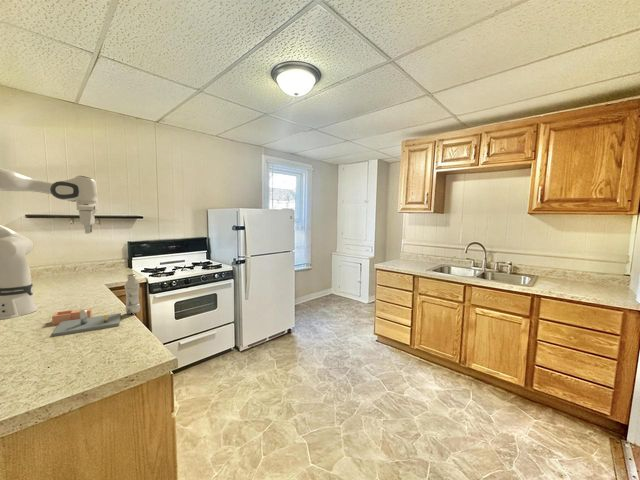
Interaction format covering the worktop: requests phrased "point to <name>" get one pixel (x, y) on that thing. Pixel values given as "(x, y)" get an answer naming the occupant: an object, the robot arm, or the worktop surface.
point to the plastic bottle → (132, 294)
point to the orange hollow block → (68, 315)
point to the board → (92, 324)
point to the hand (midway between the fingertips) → (88, 232)
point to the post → (84, 317)
